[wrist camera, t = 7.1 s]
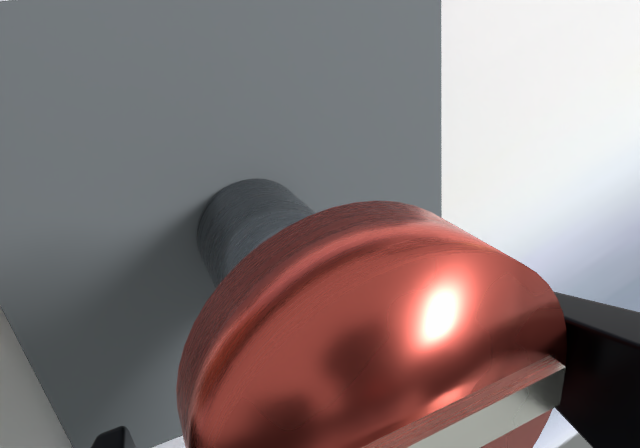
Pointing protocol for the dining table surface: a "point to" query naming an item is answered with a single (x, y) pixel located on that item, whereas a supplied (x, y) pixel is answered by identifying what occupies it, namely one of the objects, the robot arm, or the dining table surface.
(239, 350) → the no entry disc
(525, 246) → the dining table surface
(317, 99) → the mat
